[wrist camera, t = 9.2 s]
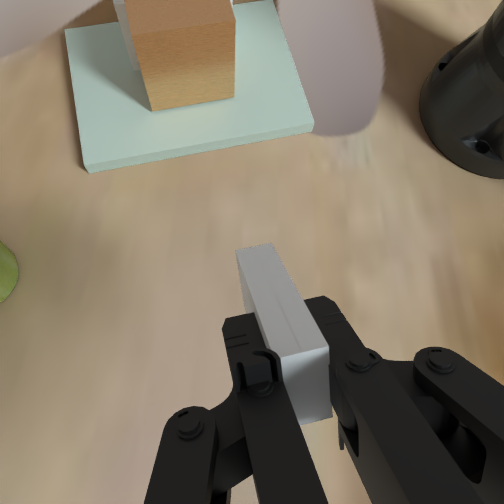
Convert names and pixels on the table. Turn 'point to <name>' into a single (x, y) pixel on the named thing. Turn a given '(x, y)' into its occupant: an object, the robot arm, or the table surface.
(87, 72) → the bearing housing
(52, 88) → the table surface
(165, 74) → the cardboard box
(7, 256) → the plant pot
